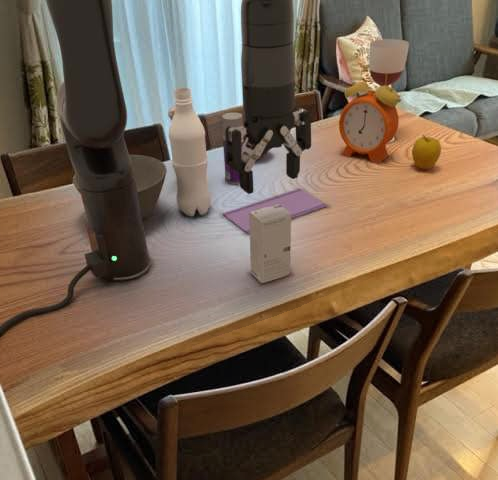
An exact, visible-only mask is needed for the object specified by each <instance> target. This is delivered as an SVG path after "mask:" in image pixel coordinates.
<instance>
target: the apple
mask: <svg viewBox="0 0 498 480" xmlns="http://www.w3.org/2000/svg"><path fill="white" fill-rule="evenodd" d="M441 153H442V146H441V143H440V141H439V140H438V139H437V138H434V137H432V136H431V137H430V136H425V135H424V134H422V137H419V138H417V139H416V140H415V142H414V144H413V146H412V149H411V155H412V156H411V157H412V160H413V163H414V166H415V167H416V168H420V169H421V170H429V169H431V168H432V167H433V166H434V165H435V164H436V163H437V162H438V161H439V158H440V156H441Z"/></svg>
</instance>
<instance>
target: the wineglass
mask: <svg viewBox="0 0 498 480" xmlns="http://www.w3.org/2000/svg"><path fill="white" fill-rule="evenodd" d="M409 47H410V43H409V41H406V40H403V39H398V38H382V39H381V38H380V39H376V40H372V41H371V42H369V53H368V68H369V69H368V71H369V74H370V78H371V79H372V81H373V82H374V83H375V84H377V85H378V86H379V87H381V86H384V85H385V82H386V86H389V87H390V86H391V85H393V84H394V83H396V82H397V81H399V79H400V78H401V76H402V74H403V72H404V70H405V66H406V63H407V59H408V58H407V57H408V53H409ZM370 70H373V71H370ZM376 71H380V72H376ZM383 72H386V73H387V77H386V73H383ZM395 138H396V137H395V136H394V137H393V139H392V140H391V141H390V142H388V143H387V144H389V143H392V142H394V140H395Z"/></svg>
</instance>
